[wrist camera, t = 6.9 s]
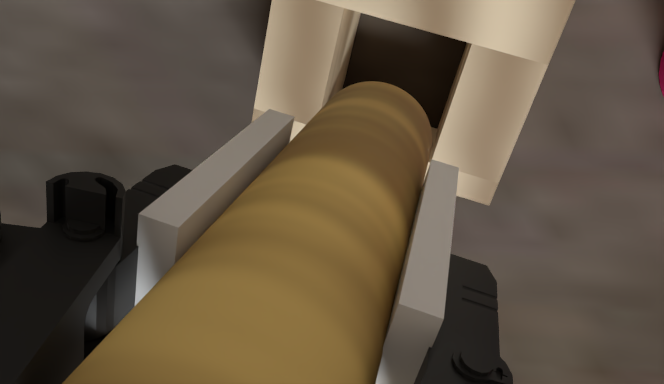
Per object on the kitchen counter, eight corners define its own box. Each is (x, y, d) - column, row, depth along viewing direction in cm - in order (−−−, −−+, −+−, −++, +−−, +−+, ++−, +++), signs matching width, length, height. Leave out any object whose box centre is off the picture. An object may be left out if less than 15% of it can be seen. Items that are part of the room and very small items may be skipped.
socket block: (282, 103, 31) (250, 131, 27) (337, -186, 24) (306, -212, 20) (487, 165, 30) (489, 205, 25) (602, -122, 23) (632, -136, 19)
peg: (331, 66, 18) (0, 347, 6) (448, 101, 17) (368, 490, 5) (307, 172, 20) (17, 558, 7) (412, 206, 19) (290, 678, 7)
